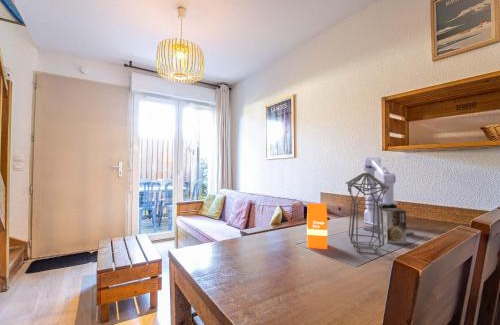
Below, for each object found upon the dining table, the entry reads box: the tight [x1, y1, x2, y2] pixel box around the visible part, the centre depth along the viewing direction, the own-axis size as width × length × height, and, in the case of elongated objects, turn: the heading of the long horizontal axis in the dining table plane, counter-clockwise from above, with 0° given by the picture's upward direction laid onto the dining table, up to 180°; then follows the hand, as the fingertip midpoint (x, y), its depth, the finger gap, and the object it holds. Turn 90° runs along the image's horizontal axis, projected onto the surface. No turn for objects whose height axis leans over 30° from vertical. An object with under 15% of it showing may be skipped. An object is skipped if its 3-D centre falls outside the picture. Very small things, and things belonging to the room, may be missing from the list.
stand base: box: [363, 224, 415, 236], centre depth 137 cm, size 18×18×5 cm
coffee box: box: [382, 208, 407, 245], centre depth 119 cm, size 9×6×16 cm
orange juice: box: [306, 202, 328, 250], centre depth 113 cm, size 8×9×20 cm
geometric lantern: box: [345, 172, 390, 255], centre depth 106 cm, size 16×16×35 cm
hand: (387, 217), depth 137 cm, fingers closed on column, 4 cm apart
